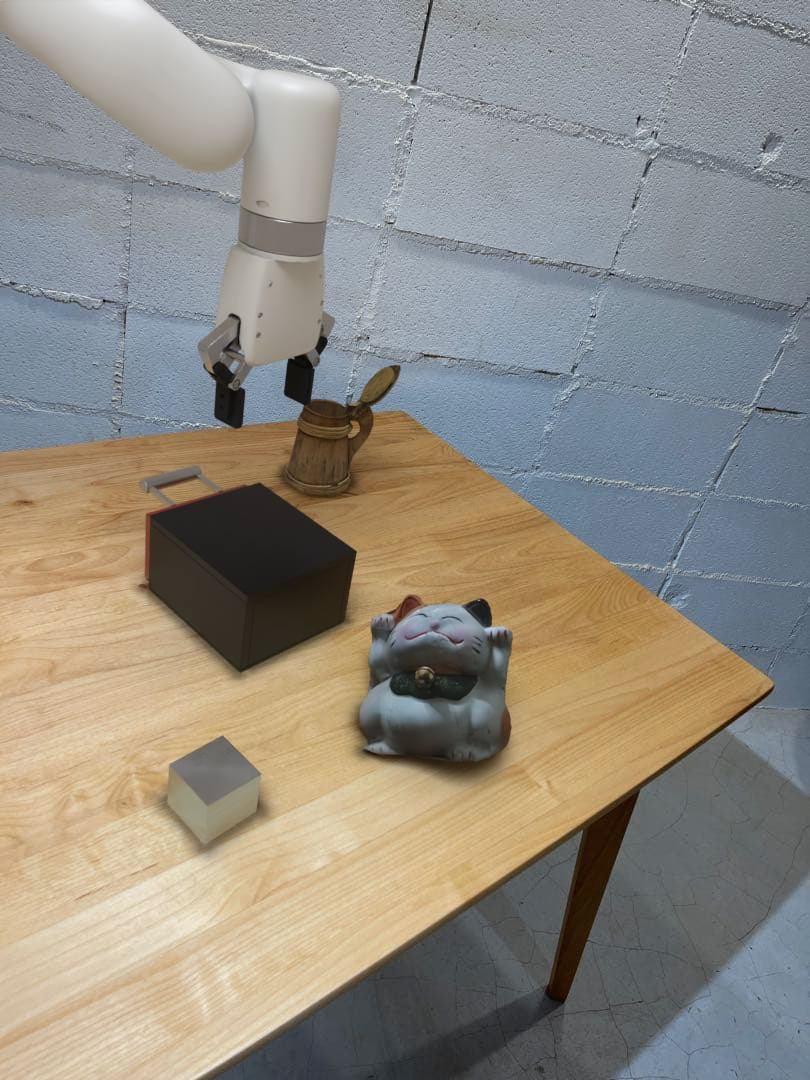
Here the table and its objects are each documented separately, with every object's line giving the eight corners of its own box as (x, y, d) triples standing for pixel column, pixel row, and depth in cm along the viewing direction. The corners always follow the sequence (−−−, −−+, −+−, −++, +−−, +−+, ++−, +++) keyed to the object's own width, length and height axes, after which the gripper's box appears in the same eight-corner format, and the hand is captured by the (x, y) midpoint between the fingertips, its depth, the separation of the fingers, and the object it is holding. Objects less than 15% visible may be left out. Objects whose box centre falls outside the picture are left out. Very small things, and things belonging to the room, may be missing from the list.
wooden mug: (385, 501, 112) (409, 379, 102) (286, 497, 108) (302, 369, 99) (373, 469, 119) (394, 352, 110) (280, 464, 115) (294, 342, 106)
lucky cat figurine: (328, 746, 73) (340, 592, 72) (384, 716, 84) (395, 582, 83) (488, 783, 67) (504, 616, 66) (526, 745, 78) (539, 602, 77)
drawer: (115, 549, 90) (114, 483, 86) (210, 519, 99) (214, 457, 94) (227, 650, 80) (233, 581, 75) (322, 606, 88) (333, 542, 84)
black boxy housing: (148, 592, 86) (149, 514, 81) (252, 554, 96) (259, 482, 91) (239, 677, 78) (247, 596, 73) (343, 625, 88) (357, 551, 83)
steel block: (166, 807, 65) (168, 764, 62) (219, 776, 68) (222, 734, 65) (203, 849, 62) (207, 806, 60) (256, 815, 66) (261, 773, 63)
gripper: (313, 216, 79) (294, 380, 89) (176, 227, 67) (169, 417, 76) (374, 238, 76) (347, 405, 85) (242, 254, 64) (226, 449, 73)
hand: (263, 411), depth 81 cm, fingers open, 9 cm apart
